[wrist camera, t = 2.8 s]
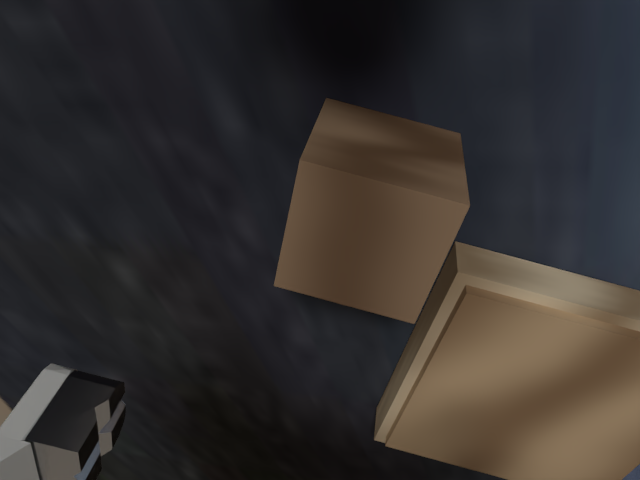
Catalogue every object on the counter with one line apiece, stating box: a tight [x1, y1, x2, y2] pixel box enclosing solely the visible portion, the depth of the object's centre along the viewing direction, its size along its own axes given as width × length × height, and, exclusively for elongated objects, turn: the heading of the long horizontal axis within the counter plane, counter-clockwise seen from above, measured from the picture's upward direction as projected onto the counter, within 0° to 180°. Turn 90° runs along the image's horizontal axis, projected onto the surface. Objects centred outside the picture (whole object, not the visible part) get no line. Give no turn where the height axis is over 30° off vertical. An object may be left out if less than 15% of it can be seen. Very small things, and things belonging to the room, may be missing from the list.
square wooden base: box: [374, 241, 640, 480], centre depth 24 cm, size 12×12×2 cm
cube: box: [274, 98, 470, 324], centre depth 18 cm, size 5×5×5 cm
